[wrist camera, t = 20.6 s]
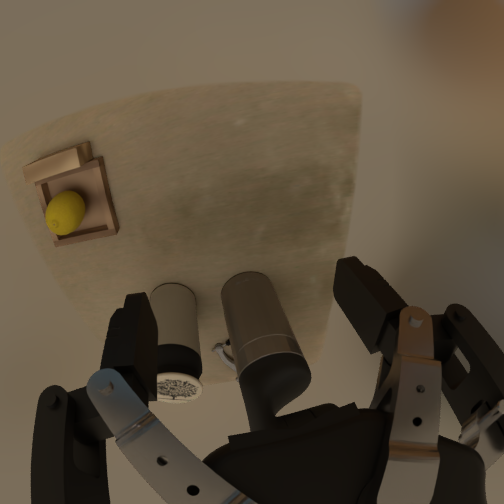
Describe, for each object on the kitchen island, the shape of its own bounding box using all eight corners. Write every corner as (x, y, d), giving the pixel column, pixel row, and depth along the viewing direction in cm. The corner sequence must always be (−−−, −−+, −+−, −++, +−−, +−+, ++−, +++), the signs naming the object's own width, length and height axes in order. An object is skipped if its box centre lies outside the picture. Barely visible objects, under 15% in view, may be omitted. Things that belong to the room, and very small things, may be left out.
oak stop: (93, 158, 31) (80, 166, 26) (42, 174, 29) (26, 185, 25) (89, 141, 29) (76, 147, 25) (39, 158, 28) (22, 167, 24)
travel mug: (155, 277, 42) (148, 368, 27) (201, 288, 45) (213, 378, 30) (146, 311, 45) (139, 399, 30) (188, 321, 48) (195, 407, 33)
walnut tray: (120, 225, 37) (116, 234, 35) (62, 238, 36) (55, 247, 33) (104, 155, 32) (97, 159, 29) (43, 173, 30) (33, 179, 27)
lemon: (95, 216, 35) (77, 242, 28) (65, 221, 34) (43, 247, 27) (88, 180, 32) (66, 199, 25) (57, 187, 31) (31, 207, 24)
